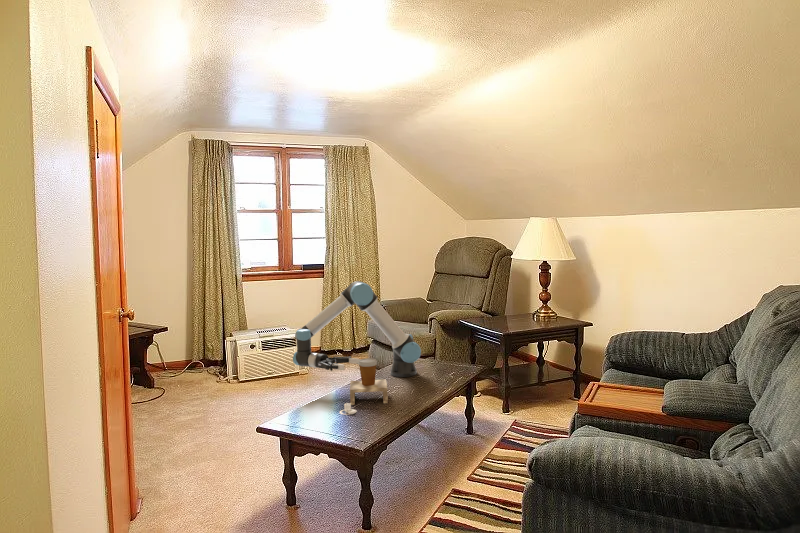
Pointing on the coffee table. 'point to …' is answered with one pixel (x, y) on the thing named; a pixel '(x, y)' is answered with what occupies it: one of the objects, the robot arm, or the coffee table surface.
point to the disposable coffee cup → (368, 371)
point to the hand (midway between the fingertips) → (352, 364)
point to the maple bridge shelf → (368, 389)
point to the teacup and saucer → (348, 409)
